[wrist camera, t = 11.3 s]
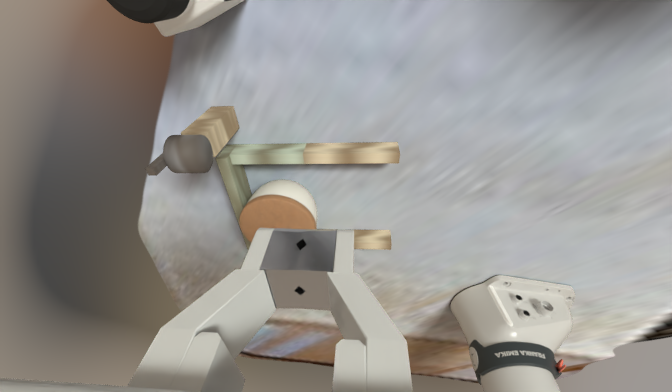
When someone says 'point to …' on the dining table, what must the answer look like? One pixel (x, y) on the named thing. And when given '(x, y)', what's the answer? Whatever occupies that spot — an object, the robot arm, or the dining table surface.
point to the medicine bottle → (173, 12)
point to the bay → (304, 153)
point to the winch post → (197, 143)
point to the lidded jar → (279, 208)
